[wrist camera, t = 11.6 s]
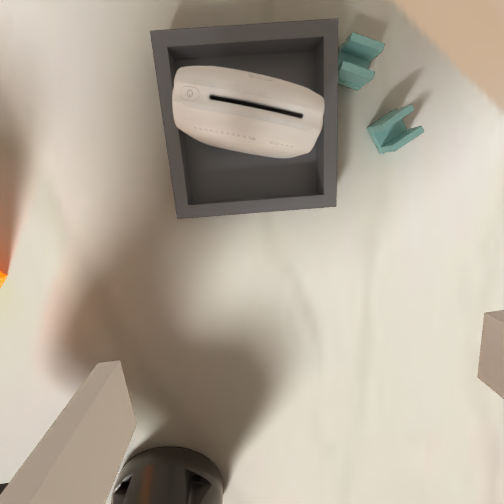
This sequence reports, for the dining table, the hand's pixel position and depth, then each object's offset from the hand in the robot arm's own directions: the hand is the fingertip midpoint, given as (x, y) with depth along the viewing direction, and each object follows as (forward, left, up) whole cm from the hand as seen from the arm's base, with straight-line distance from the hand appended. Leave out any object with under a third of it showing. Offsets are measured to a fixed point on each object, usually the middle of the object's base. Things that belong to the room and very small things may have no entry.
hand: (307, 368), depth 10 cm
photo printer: (-1, +11, -22) cm, 24 cm away
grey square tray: (-1, +11, -22) cm, 25 cm away
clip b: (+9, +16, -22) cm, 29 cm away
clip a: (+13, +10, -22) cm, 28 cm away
